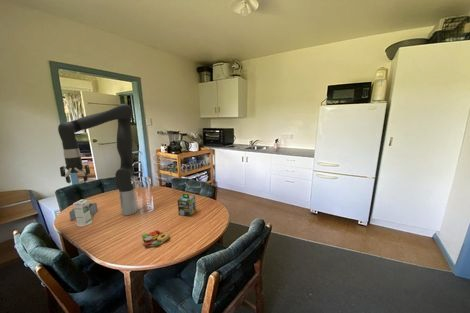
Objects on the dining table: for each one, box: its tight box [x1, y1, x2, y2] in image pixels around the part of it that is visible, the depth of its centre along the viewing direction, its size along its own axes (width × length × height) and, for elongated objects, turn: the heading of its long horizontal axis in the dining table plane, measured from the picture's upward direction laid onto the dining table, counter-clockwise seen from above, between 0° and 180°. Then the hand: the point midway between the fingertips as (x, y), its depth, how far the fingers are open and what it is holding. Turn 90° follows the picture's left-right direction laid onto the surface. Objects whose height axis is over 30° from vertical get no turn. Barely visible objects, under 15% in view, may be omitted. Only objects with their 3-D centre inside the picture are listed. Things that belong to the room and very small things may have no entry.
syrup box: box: [72, 198, 93, 226], centre depth 122 cm, size 6×6×14 cm
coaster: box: [76, 220, 94, 228], centre depth 123 cm, size 8×8×1 cm
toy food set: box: [141, 229, 171, 247], centre depth 106 cm, size 13×13×3 cm
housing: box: [68, 201, 99, 221], centre depth 133 cm, size 11×11×6 cm
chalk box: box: [177, 193, 197, 217], centre depth 135 cm, size 9×9×15 cm
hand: (77, 182), depth 118 cm, fingers open, 8 cm apart
